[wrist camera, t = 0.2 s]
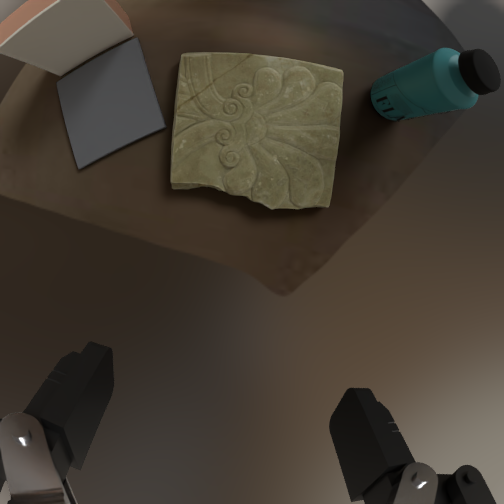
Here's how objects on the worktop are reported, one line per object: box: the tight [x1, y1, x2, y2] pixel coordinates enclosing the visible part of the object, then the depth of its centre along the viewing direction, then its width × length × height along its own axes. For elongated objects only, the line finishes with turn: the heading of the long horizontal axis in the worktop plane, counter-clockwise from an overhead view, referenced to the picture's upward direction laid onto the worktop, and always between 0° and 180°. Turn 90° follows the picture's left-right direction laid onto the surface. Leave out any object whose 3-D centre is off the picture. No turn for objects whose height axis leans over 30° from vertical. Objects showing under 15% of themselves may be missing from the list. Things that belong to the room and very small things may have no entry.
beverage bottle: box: [371, 48, 501, 122], centre depth 23 cm, size 6×7×20 cm
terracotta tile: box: [0, 0, 134, 76], centre depth 21 cm, size 4×12×15 cm, turn 108°
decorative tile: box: [170, 52, 343, 210], centre depth 32 cm, size 19×20×4 cm
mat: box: [56, 37, 167, 169], centre depth 31 cm, size 14×13×1 cm
